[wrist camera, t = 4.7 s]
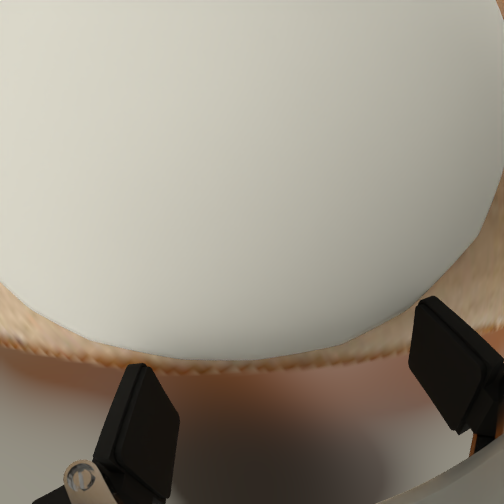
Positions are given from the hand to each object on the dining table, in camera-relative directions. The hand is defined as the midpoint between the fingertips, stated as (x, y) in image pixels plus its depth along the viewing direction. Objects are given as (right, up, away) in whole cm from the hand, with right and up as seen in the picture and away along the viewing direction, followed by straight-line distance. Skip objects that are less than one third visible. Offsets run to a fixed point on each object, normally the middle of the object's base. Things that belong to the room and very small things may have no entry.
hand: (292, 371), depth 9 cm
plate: (-3, +15, 0) cm, 15 cm away
